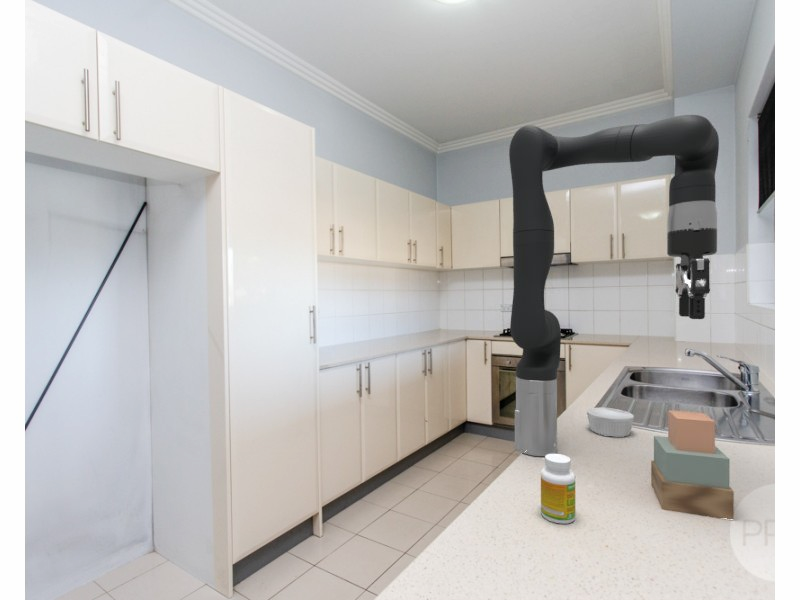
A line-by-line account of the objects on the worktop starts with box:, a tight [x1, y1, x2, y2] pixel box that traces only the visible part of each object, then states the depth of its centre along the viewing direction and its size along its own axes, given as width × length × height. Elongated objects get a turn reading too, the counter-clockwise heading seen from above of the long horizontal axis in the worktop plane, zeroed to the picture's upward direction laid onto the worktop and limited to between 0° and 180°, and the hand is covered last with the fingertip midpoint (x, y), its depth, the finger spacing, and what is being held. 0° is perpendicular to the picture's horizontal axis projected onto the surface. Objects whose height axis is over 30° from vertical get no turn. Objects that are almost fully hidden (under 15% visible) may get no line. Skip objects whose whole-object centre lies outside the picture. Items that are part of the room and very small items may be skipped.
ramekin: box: [586, 407, 635, 438], centre depth 113 cm, size 11×11×5 cm
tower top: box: [653, 435, 730, 489], centre depth 75 cm, size 9×9×5 cm
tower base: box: [650, 459, 735, 519], centre depth 75 cm, size 10×10×5 cm
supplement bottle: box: [540, 453, 576, 525], centre depth 70 cm, size 5×5×10 cm
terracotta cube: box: [667, 410, 716, 454], centre depth 75 cm, size 6×6×6 cm
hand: (691, 317), depth 78 cm, fingers open, 8 cm apart
